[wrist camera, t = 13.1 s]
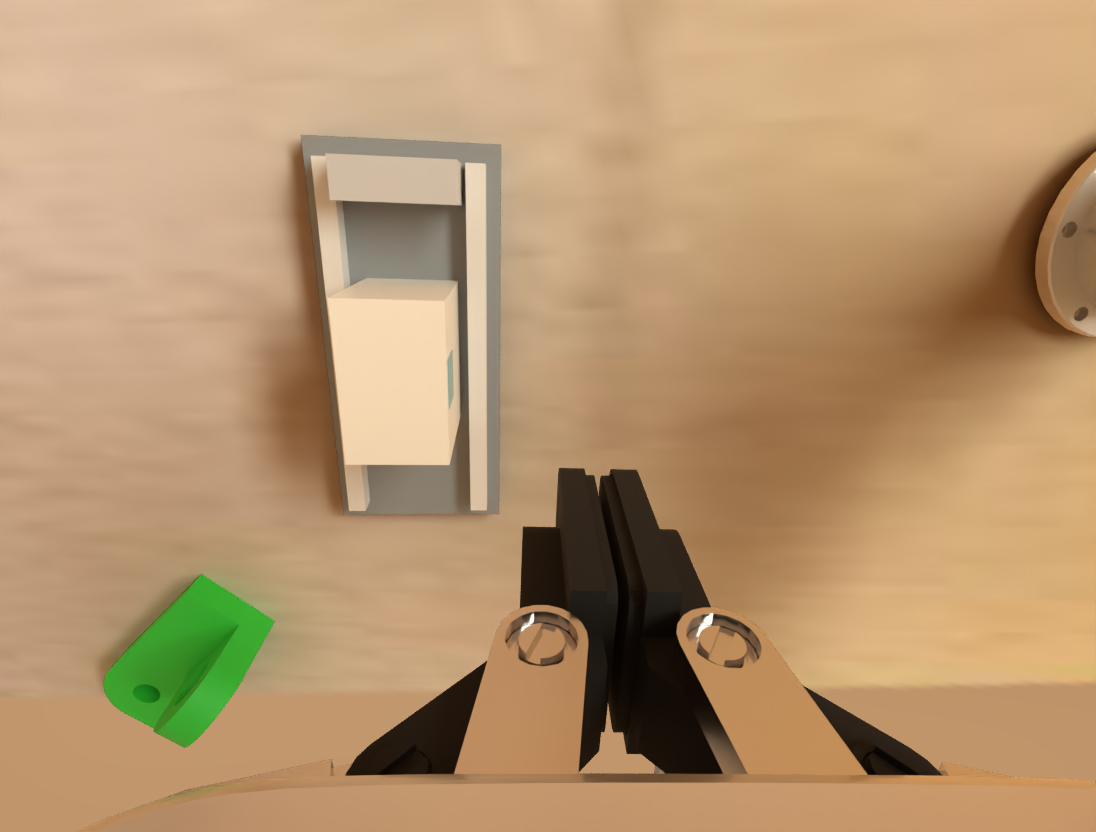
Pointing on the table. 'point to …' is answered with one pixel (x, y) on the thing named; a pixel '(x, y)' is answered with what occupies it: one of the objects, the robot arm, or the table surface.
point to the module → (397, 370)
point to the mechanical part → (188, 662)
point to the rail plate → (425, 254)
